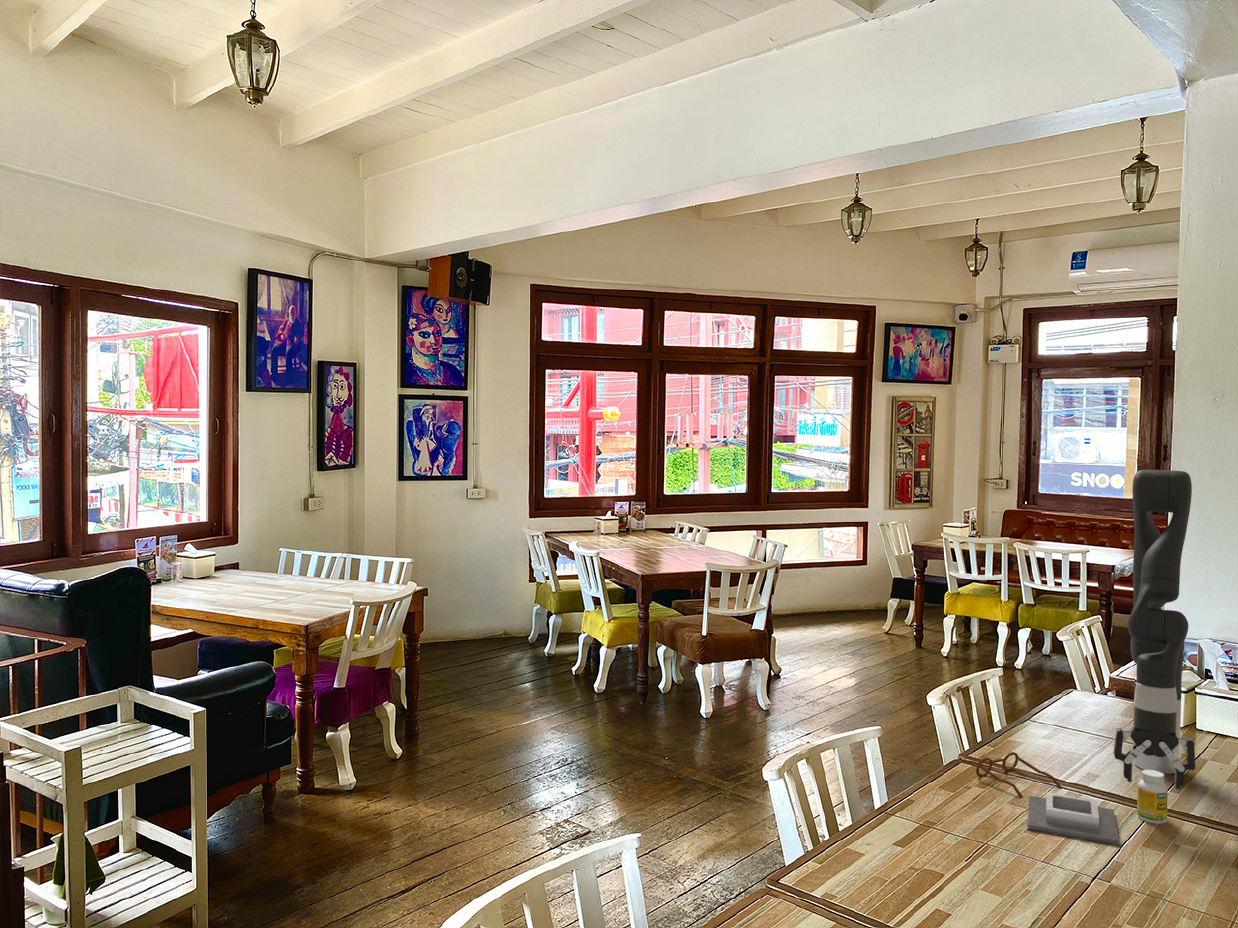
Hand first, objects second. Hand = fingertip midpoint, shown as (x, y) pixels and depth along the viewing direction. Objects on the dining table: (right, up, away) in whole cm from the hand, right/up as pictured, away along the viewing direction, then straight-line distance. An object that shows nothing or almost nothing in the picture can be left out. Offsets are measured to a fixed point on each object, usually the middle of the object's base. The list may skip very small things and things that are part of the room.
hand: (1152, 784), depth 185 cm
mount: (-17, -7, -1) cm, 19 cm away
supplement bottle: (0, -8, +1) cm, 8 cm away
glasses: (-19, -7, +19) cm, 28 cm away
